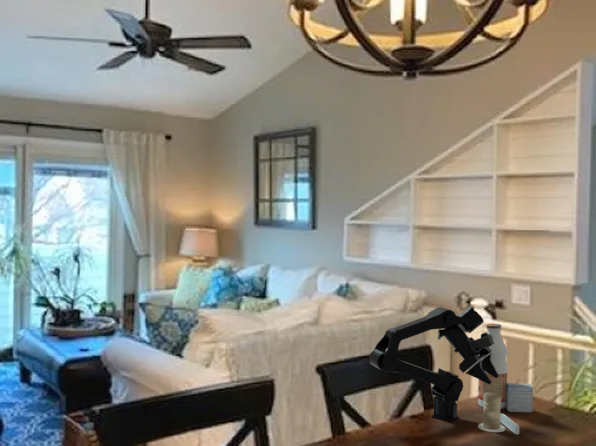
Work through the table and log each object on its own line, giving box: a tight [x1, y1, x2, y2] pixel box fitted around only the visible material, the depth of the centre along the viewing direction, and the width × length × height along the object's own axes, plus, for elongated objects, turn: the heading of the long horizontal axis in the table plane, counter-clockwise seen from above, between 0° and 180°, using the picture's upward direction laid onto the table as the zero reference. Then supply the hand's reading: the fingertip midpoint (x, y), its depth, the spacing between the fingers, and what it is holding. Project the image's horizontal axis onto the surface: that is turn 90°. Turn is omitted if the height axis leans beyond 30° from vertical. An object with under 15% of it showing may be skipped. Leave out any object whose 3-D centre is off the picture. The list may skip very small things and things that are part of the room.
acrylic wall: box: [500, 413, 520, 435], centre depth 205 cm, size 12×1×2 cm, turn 5°
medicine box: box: [505, 382, 534, 413], centre depth 223 cm, size 8×4×9 cm, turn 84°
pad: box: [477, 422, 506, 433], centre depth 205 cm, size 8×8×1 cm
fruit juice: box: [477, 322, 508, 410], centre depth 228 cm, size 9×9×28 cm
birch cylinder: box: [482, 392, 501, 430], centre depth 205 cm, size 5×5×10 cm
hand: (494, 380), depth 209 cm, fingers open, 9 cm apart
